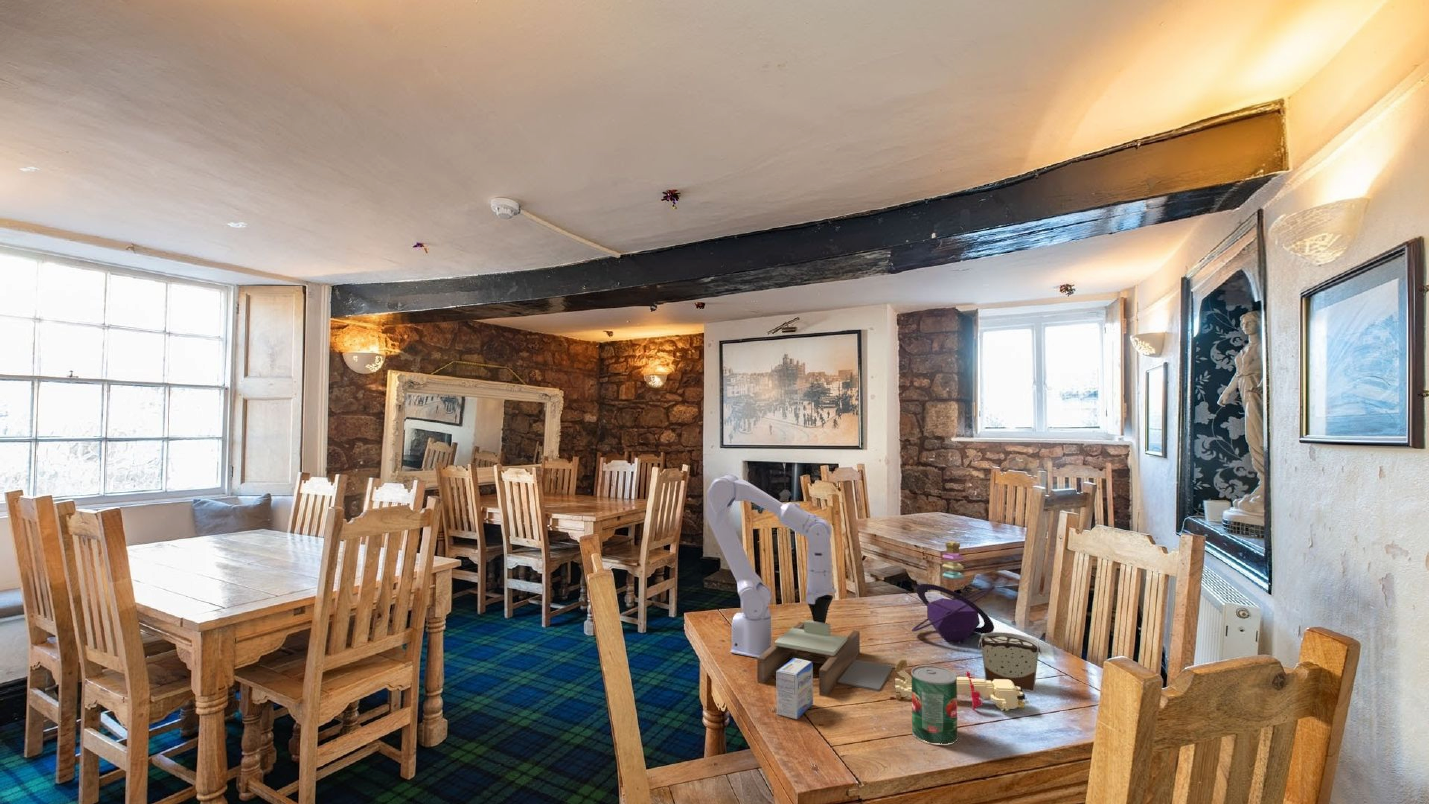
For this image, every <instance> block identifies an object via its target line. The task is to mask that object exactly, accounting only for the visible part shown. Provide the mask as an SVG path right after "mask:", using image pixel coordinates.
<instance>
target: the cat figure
mask: <svg viewBox="0 0 1429 804" xmlns="http://www.w3.org/2000/svg"><path fill="white" fill-rule="evenodd" d="M907 667H908V662H907V660H906V659H905V658H900V659H899V660H898V661H897V662H896V664H895V666H894V668H895V669H894V670H895V673H897V674H898V676H900V677H903V679H905V681H904V680H903V679H900V678H894V682H895V685H894V686H895V687H894V688H895V698H896V700H899V699H901V700H902V696H906V697H908V699H912V682H911V681H912V675H910V674H909V673H908V672H906V671H905V668H907ZM1023 692H1024V690H1022V689H1020V687H1018V686H1014V684H1013V682H1011V680H1009V679H994V680H993V681H992V682H991V681H990V680H985V679H984V678H975V676H971V672H969V670H967V671H966V676H957V696H965V697H967V698H969V699H971V703H972V711H975V710H976V709H977V707H978V706H982V700H981V699H986V700H989V699H990V700H991V702H993V703H995V706H996V707H997V708H998V709H1000V711H1004V710H1005V711H1006V712H1008V711H1010V710H1015V709H1017V708H1023V709H1024V708H1026V704H1028V705H1029V701H1027V697H1026V695H1025V693H1023ZM980 698H981V699H980Z"/></svg>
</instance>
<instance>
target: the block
mask: <svg viewBox="0 0 1429 804" xmlns="http://www.w3.org/2000/svg"><path fill="white" fill-rule="evenodd" d="M809 655H813V656H818V657H824V658H830V657H831V656H832V655H827V654H821V653H815V652H809Z"/></svg>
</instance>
